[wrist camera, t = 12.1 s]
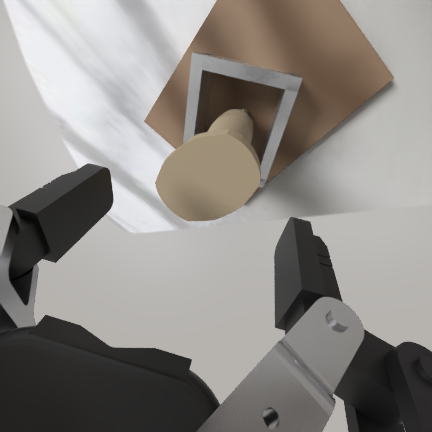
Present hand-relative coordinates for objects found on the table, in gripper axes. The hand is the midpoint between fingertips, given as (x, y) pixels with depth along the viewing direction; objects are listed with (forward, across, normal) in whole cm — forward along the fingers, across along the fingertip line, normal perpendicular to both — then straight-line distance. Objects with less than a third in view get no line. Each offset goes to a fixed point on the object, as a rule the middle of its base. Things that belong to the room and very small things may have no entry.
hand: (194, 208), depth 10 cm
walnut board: (+20, -1, -1) cm, 20 cm away
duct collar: (+20, 0, 0) cm, 20 cm away
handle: (+19, 0, +1) cm, 19 cm away
